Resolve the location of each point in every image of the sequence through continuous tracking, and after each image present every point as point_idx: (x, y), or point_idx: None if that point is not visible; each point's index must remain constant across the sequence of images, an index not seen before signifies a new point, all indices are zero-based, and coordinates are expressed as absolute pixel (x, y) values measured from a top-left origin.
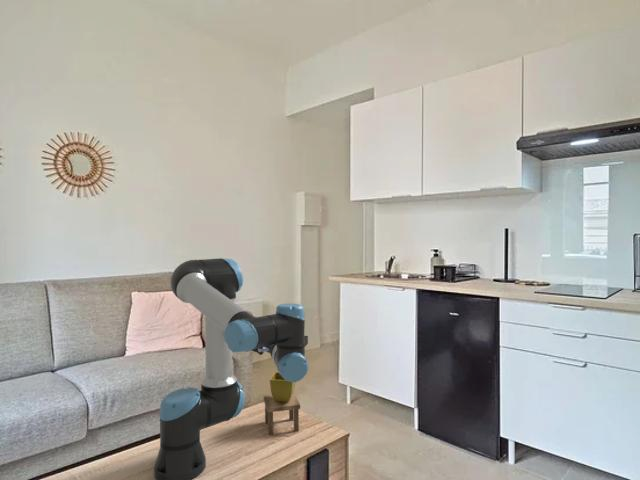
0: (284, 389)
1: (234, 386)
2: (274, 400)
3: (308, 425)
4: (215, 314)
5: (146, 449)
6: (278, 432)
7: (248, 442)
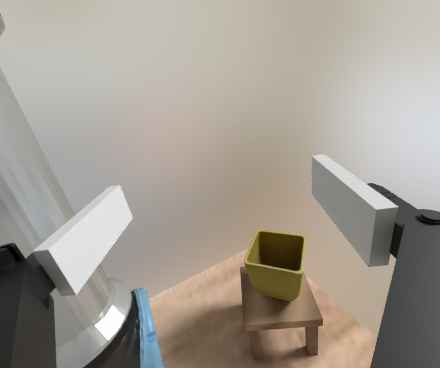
0: (281, 285)
1: (106, 357)
2: None
3: (335, 331)
4: None
5: None
6: (273, 349)
7: None
